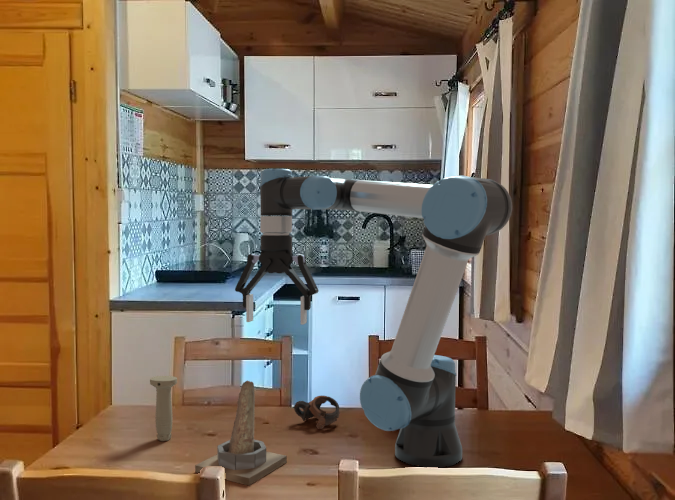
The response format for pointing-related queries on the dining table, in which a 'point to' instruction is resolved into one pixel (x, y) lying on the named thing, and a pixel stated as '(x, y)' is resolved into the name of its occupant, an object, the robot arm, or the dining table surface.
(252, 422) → the tapered stone pillar
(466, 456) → the dining table surface
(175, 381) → the handle
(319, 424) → the dark twisted loops
